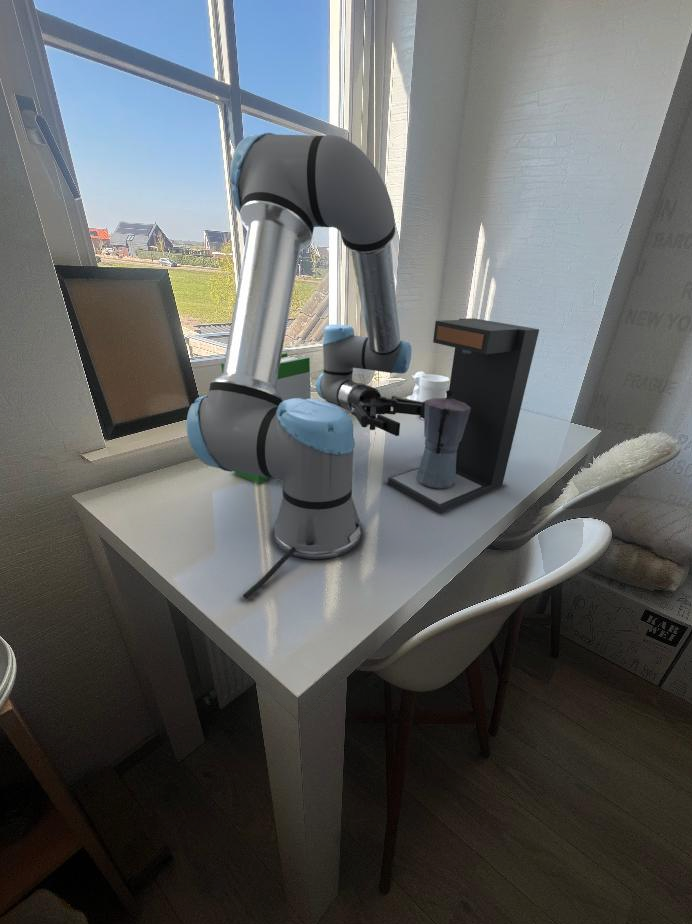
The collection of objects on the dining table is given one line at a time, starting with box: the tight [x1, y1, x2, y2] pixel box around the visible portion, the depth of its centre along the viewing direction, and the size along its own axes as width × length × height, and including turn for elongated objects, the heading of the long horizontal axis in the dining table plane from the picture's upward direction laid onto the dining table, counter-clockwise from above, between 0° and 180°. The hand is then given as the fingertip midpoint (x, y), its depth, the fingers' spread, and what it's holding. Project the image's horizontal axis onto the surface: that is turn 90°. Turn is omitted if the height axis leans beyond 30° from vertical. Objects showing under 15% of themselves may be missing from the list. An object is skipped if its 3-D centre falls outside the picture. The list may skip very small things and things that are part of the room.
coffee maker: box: [387, 317, 540, 514], centre depth 88 cm, size 22×16×34 cm
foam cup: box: [419, 373, 450, 420], centre depth 135 cm, size 10×9×13 cm
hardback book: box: [220, 352, 311, 484], centre depth 93 cm, size 18×7×24 cm, turn 148°
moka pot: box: [416, 389, 471, 488], centre depth 88 cm, size 10×15×20 cm, turn 170°
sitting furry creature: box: [405, 370, 426, 401], centre depth 147 cm, size 10×9×12 cm
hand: (421, 424), depth 91 cm, fingers open, 13 cm apart
